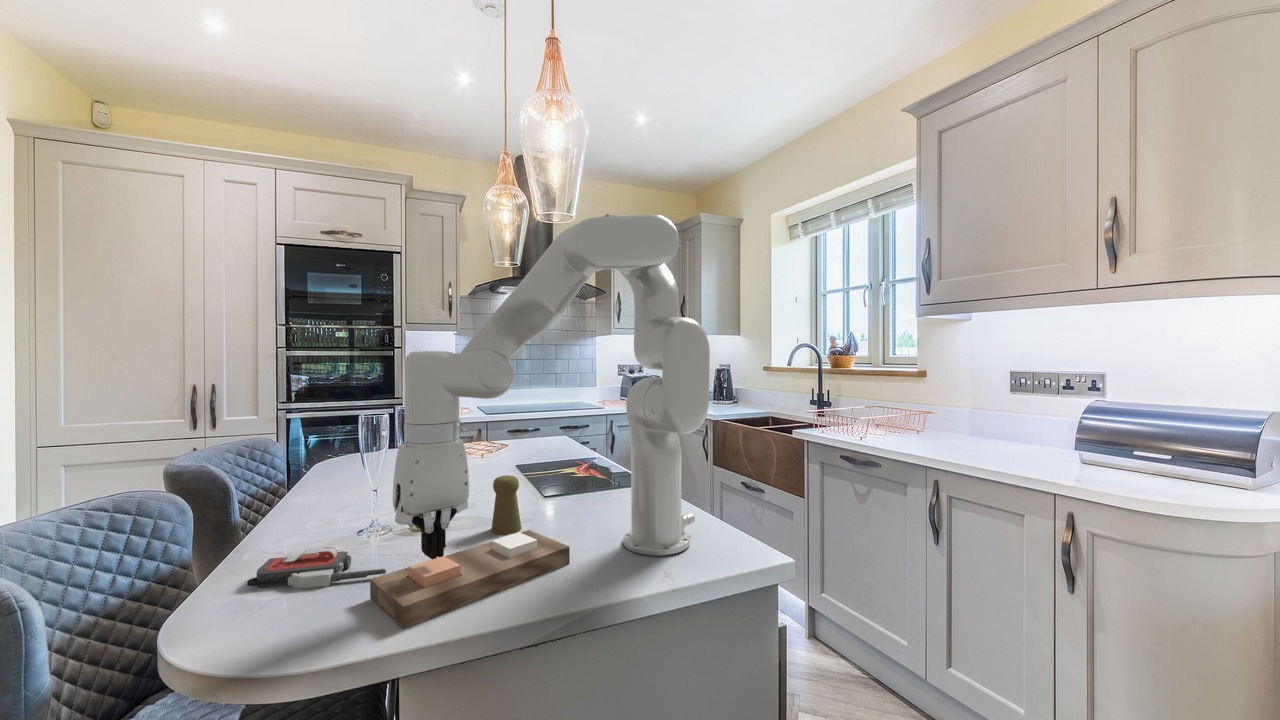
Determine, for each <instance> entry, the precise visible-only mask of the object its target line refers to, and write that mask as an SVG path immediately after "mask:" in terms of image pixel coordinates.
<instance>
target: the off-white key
mask: <svg viewBox="0 0 1280 720" xmlns="http://www.w3.org/2000/svg"><path fill="white" fill-rule="evenodd" d="M491 542H492V551H494V552H496V553H498V554H500V555H502V556H504V557H506V558H508V559H511V558H514V557H517V556H520V555H523V554H526V553H529V552H532V551H534V550H537V539H534V538H532V537H529V536H527V535H525V534H522V533H521V532H520V531H518V532H516V533H513V534H508V535H506V536H503V537H500V538H496V539H494V540H492V541H491Z"/></svg>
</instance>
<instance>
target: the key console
mask: <svg viewBox="0 0 1280 720" xmlns="http://www.w3.org/2000/svg"><path fill="white" fill-rule="evenodd" d="M520 533H522V534H525V535H527V536H529V537H532V538H534V539H537V550H534V551H532V552H529V553H526V554H523V555H520V556H517V557H514V558H511V559H508V558H506V557H504V556H502V555H500V554H498V553H496V552H494V551H492V541H489V542H486V543H483V544H480V545H476V546H473V547H470V548H466V549H463V550H461V551H457V552H454V553H451V554H446V555H444V556H445V557H447V558H448V559H450V560H452V561H453V562H455V563H457V564H459V565H460V576H459V577H457V578H454V579H451V580H448V581H445V582H442V583H439V584H436V585H433V586H431V587H428V588H425V589H423V588H421V587H420V586H419V585H417V584H416V583H414V582H413V581H412V580H410V579H409V566H408V567H406V568H405V567H404V568H402V569H399V570H395V571H392V572H389V573H385V574H381V575H379V576H375V577H373V578H370V579H369V589H370V590H369V591H370V592H369V595H370V597H369V598H370V600H371V602H372V603H374V604H376V606H377V607H379V608H380V610H382V611H383V612H384V613H385V614H386V615H387V616H388V617H390V618H391V619H392V620H393V621H394V622H395V623H396V624H398V625H399V627H401V628H402V629H403V630H405V629H407V628H410V627H412V626H415V625H417V624H420V623H422V622H425V621H427V620H430V619H432V618H435V617H438V616H440V615H444V614H446V613H449V612H451V611H454V610H456V609H459V608H460V607H463V606H466V605H468V604H470V603H473V602H476V601H478V600H481V599H483V598H485V597H489V596H492V595H494V594H496V593H499V592H501V591H503V590H506V589H509V588H512V587H515V586H517V585H519V584H522V583H524V582H525V583H526V581H530V580H532V579H534V578H537V577H540V576H542V575H544V574H547V573H550V572H552V571H554V570H555V571H556V570H557V569H560V568H563V567H565V566H567V565H570V560H571V557H570V556H571V555H570V554H571V553H570V550H571V549H570V545H567V544H565V543H562V542H559V541H557V540H554V539H552V538H550V537H547V536H544V535H543V534H540V533H538V532H535V531H532V530H530V529H528V530H525V531H522V532H520Z"/></svg>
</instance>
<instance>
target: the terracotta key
mask: <svg viewBox="0 0 1280 720" xmlns="http://www.w3.org/2000/svg"><path fill="white" fill-rule="evenodd" d="M445 556H446V555H443V556H442V557H437V558H436V559H431V558H430V559H429V560H425V561H421V562H418V563H415V564H412V565H409V566H408V567H409V579H410V580H412V581H413V582H414V583H416V584H417V585H419V586H420V587H421V588H423V589H425V588H428V587H431V586H433V585H436V584H439V583H442V582H445V581H448V580H451V579H454V578H457V577H459V576H460V565H459V564H457V563H455V562H453V561H452V560H450V559H448V558H447V557H445Z"/></svg>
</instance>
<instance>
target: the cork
mask: <svg viewBox="0 0 1280 720" xmlns="http://www.w3.org/2000/svg"><path fill="white" fill-rule="evenodd" d="M519 487H520V482H519V479H518V477H517V476H515V475H509V474H507V475H506V474H505V475H501V476H497V477H496V478H495V479H494V480H493V483H492V488H493V492H494V493H495V498H494V499H495V500H494V506H493V507H494V508H493V513H492V514H493V515H492V523H491V533H492V534H494V535H501V536H502V535H506V536H507V535H512V534H516V533H519V532H520V531H521V530H522V523H521V515H520V509H519V502H518V501H519V500H518V495H517V491H518V490H519Z"/></svg>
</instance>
